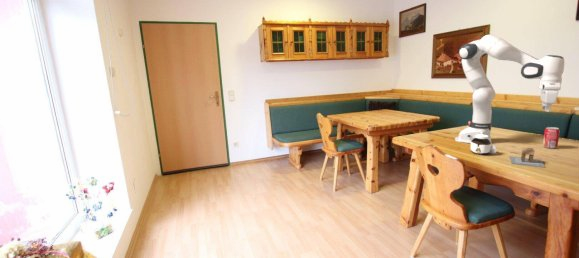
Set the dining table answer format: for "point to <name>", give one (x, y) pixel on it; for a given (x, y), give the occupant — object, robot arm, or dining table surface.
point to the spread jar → (482, 145)
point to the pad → (526, 162)
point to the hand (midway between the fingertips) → (545, 110)
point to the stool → (530, 152)
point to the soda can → (551, 137)
